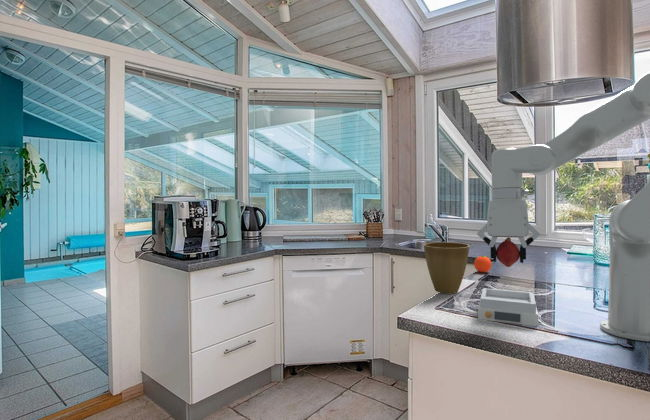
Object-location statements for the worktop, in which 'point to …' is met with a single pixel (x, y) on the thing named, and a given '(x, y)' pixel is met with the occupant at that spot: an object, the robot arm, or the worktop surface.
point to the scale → (508, 307)
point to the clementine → (482, 264)
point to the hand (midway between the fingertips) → (508, 261)
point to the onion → (507, 253)
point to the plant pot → (446, 265)
